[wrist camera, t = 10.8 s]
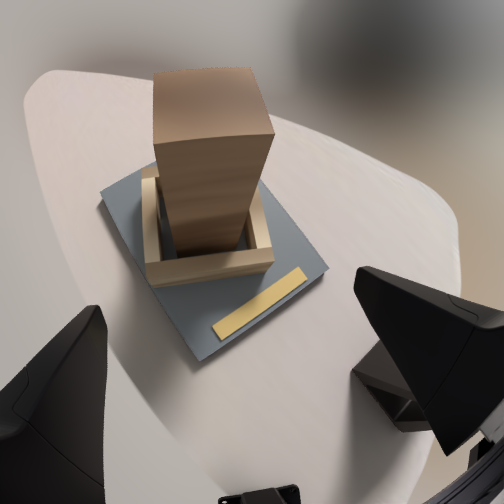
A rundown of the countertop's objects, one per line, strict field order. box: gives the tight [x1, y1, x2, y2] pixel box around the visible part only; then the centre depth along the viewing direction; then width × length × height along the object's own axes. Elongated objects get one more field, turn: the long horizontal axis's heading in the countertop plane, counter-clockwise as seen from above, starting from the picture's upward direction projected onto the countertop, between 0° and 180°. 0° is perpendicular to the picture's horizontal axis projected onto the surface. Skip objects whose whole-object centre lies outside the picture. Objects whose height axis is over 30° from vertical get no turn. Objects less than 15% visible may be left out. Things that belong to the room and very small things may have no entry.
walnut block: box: [153, 67, 275, 259], centre depth 16 cm, size 4×4×13 cm
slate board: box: [100, 161, 329, 362], centre depth 23 cm, size 16×12×1 cm
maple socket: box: [142, 166, 275, 288], centre depth 21 cm, size 8×8×3 cm
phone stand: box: [352, 340, 432, 432], centre depth 16 cm, size 9×6×12 cm, turn 38°
